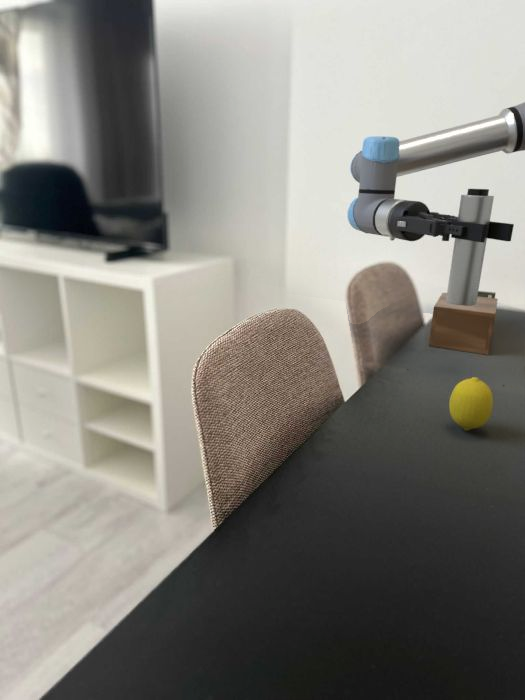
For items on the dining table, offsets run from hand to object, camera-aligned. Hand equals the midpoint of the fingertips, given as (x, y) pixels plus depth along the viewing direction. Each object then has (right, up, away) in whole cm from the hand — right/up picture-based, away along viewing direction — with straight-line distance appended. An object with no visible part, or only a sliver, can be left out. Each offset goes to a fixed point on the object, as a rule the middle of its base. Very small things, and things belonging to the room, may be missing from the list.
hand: (497, 233), depth 81 cm
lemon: (-9, -30, -9) cm, 33 cm away
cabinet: (+6, -17, +30) cm, 35 cm away
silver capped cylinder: (-2, -10, +9) cm, 14 cm away
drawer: (+11, -12, +40) cm, 43 cm away
